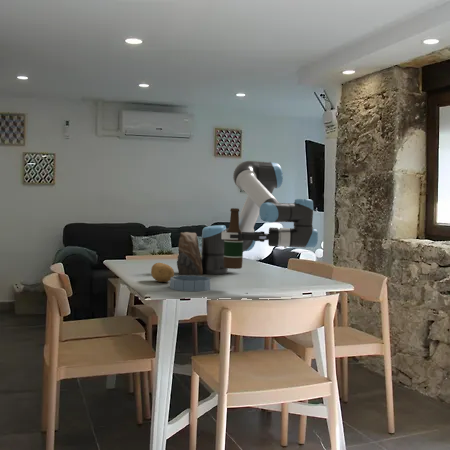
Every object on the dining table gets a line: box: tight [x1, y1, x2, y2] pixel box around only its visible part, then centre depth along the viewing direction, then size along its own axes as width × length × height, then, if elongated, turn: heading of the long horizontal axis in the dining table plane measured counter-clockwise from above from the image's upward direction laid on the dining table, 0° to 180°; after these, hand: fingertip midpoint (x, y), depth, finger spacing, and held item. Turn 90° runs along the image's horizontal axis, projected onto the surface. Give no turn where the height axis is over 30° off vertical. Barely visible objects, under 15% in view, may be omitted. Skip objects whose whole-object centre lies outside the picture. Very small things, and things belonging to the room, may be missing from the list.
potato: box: [150, 262, 175, 283], centre depth 246 cm, size 10×14×8 cm
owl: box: [176, 231, 204, 276], centre depth 279 cm, size 13×13×20 cm
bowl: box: [169, 275, 211, 292], centre depth 232 cm, size 16×16×4 cm
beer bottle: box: [224, 207, 244, 270], centre depth 231 cm, size 8×8×24 cm
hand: (221, 235), depth 231 cm, fingers closed on beer bottle, 7 cm apart
